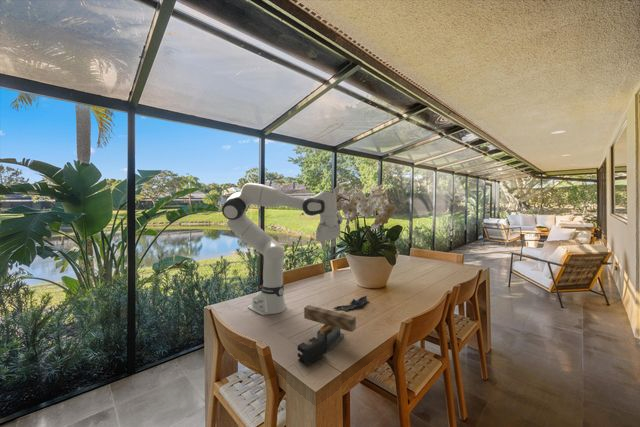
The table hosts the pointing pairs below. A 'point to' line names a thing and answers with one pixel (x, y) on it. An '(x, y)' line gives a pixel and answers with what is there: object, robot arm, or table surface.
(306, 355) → the end cap
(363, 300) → the decorative bat
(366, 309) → the table surface
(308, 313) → the walnut beam
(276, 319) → the table surface
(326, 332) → the fulcrum stand
